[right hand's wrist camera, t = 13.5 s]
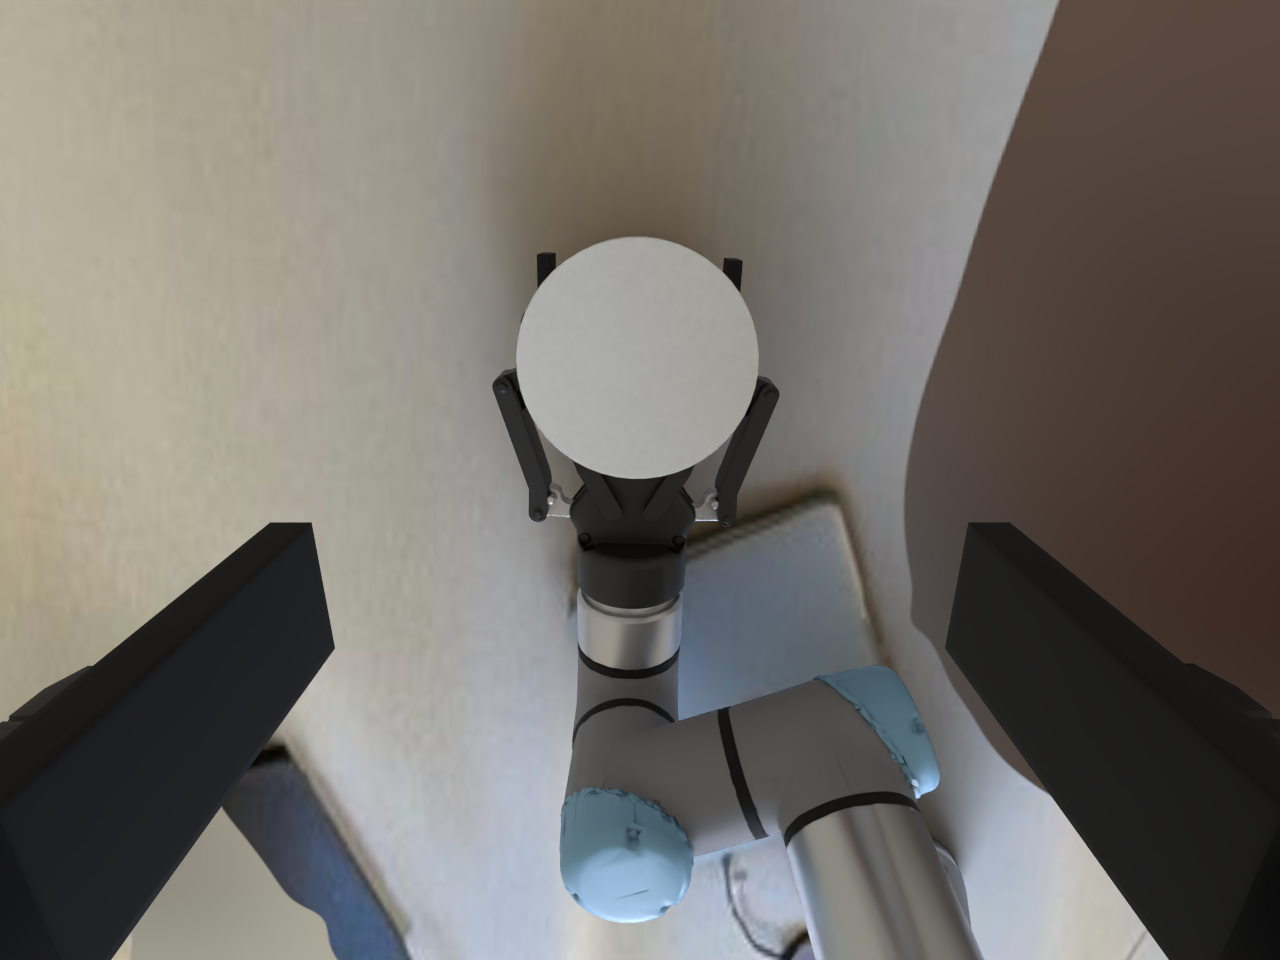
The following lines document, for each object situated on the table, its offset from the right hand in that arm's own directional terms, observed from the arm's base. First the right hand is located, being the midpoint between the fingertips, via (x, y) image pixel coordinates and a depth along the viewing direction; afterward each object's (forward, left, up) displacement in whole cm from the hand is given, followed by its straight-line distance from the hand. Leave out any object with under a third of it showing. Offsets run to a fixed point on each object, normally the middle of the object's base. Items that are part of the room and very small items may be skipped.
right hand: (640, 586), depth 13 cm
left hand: (-4, -1, -31) cm, 31 cm away
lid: (0, 0, -20) cm, 20 cm away
